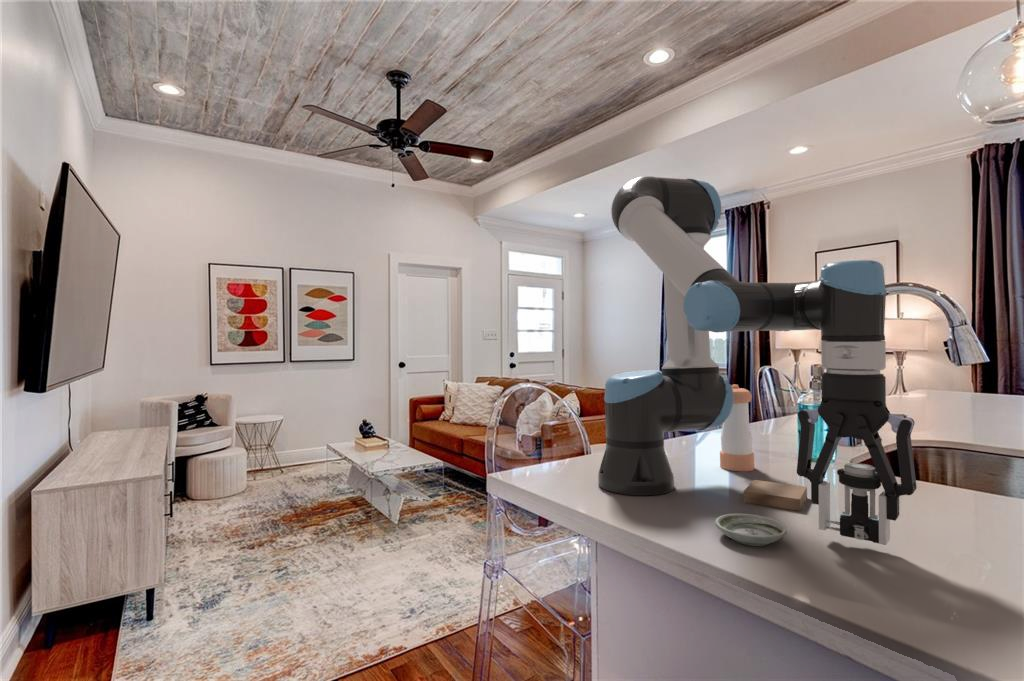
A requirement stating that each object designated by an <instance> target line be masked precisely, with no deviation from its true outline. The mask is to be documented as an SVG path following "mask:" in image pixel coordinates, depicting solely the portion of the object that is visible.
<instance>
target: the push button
mask: <svg viewBox="0 0 1024 681" xmlns="http://www.w3.org/2000/svg"><path fill="white" fill-rule="evenodd" d="M836 473H837V474H836V475H838V482H839V483H840V484H841V485H844V509H842V513H841V514H840V516H839V521H837V520H836V521H835V520H830V521H829V520H827V521H826V522H828V523H830V524H833V525H838V526H839V527H837V526H836V527H834V526H833V527H832V526H829V527H828V526H827V527H826V528H827V529H826V530H832V531H836V532H839V535H841V536H842V537H846V538H851V539H856V540H859V541H868V542H872V543H874V544H879V514H878V515H877V514H876V490H877V489H879V488H880V487H881V486H882V483H881V481H880V478H879V476H878V473H877V471H876V468H875V466H873V465H870V464H865V463H855V462H851V463H845V464H844V468H838V469H837V470H836ZM851 490H852V493H851ZM868 492H869V495H868Z"/></svg>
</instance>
